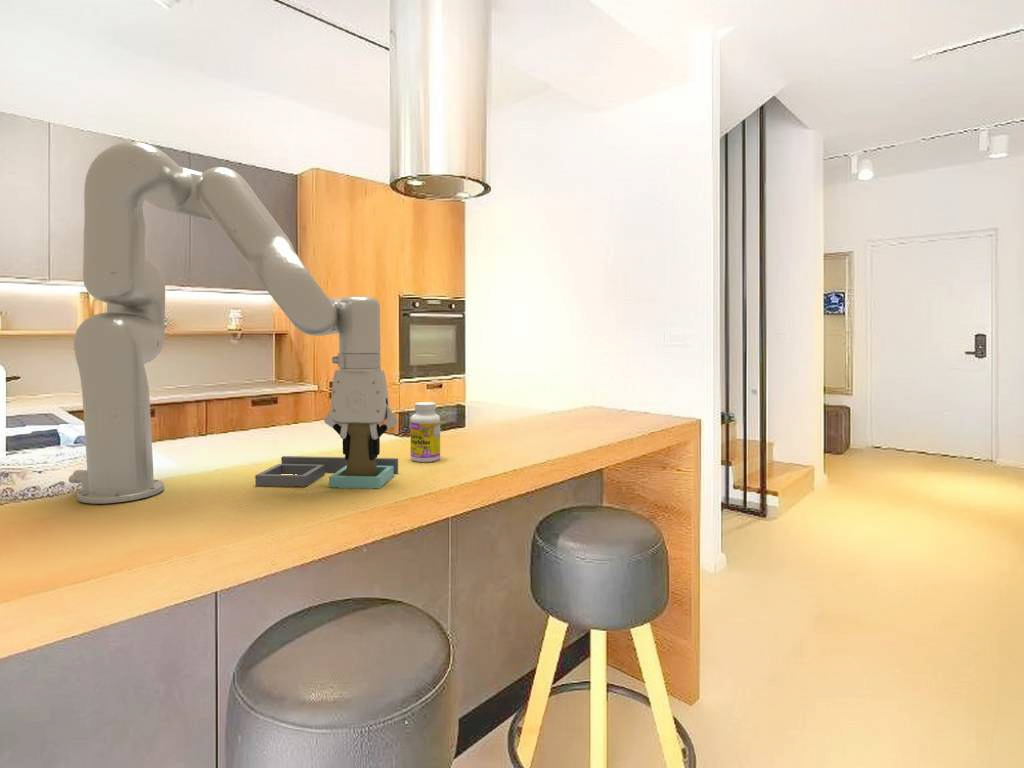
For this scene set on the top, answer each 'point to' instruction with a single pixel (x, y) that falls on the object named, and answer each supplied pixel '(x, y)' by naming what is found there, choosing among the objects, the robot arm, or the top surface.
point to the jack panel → (317, 466)
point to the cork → (360, 452)
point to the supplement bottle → (425, 433)
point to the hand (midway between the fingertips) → (361, 457)
